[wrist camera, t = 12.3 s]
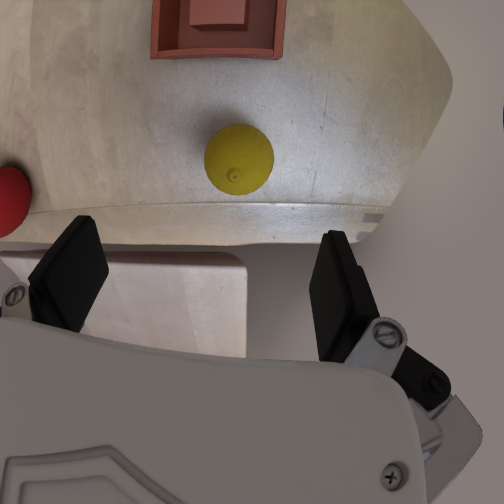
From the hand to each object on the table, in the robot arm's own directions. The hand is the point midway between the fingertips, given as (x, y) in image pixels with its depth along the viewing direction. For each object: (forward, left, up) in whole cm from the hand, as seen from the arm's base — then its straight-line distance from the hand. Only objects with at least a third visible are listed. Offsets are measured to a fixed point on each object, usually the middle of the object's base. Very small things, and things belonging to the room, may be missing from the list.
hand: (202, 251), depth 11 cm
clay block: (+2, -12, -17) cm, 21 cm away
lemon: (0, +1, -17) cm, 17 cm away
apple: (+31, +5, -17) cm, 35 cm away
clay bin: (+2, -12, -17) cm, 21 cm away
